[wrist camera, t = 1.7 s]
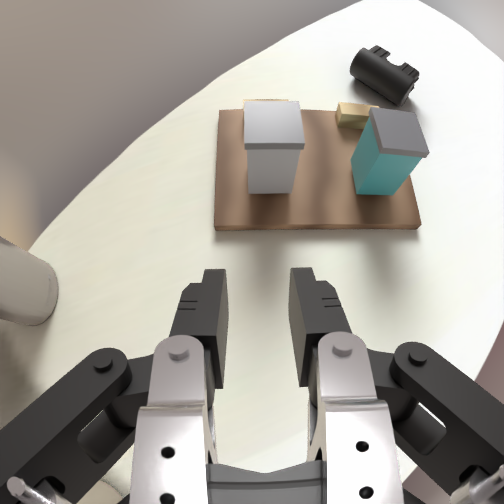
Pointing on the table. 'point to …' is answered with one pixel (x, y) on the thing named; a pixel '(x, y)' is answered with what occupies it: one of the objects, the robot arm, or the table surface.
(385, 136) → the teal key
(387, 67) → the end cap
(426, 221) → the table surface
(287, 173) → the grey key
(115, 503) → the travel mug
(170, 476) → the robot arm
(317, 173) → the key base
